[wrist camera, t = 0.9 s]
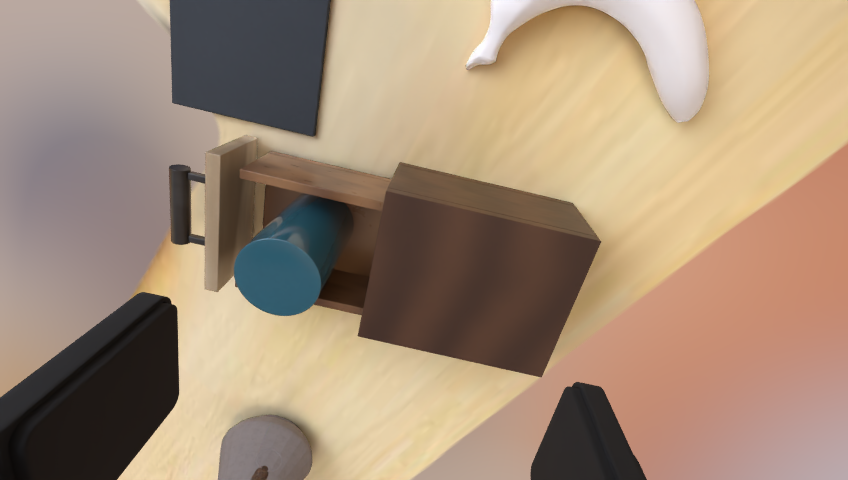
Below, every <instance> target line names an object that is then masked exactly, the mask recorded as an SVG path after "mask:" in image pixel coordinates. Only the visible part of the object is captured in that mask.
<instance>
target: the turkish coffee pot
mask: <svg viewBox="0 0 848 480" xmlns="http://www.w3.org/2000/svg"><path fill="white" fill-rule="evenodd" d="M311 466H312V451H311V447H310V444H309V442H308V440H307V438H306V437H305V436H304V434H303V433H302V431H301V430H300V429H299V428H298V426H296V425H295V424H294V423H293V422H291V421H289V420H287V419H285V418H283V417H279V416H274V415H264V416H258V417H252V418H248V419H245V420H243V421H241V422H239V423H238V424H236V425H235V426H234V427H232V428H231V429H229V431H228V432H227V433H226V435H225V436H224V438H223V440H222V445H221V452H220V462H219V473H218V480H304V478H305V477H306V476H307V475H308V474H309V472H310V469H311Z"/></svg>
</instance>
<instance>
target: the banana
mask: <svg viewBox="0 0 848 480" xmlns="http://www.w3.org/2000/svg"><path fill="white" fill-rule="evenodd" d="M571 5H581V6H588V7H592V8H595V9H598V10H600V11H603V12H605V13H607V14H609V15H610V16H612V17H613V18H615V19H616V20H618V21H619V22H620V23H621V24H623V25H624V26H625V27H626V28H627V29H628V30H629V31H630V32H631V34H632V35H633V36H634V37H635V39H636V40H637V41H638V43H639V45H640V46H641V48H642V50H643V52H644V54H645V57H646V61H647V65H648V69H649V71H650V74H651V77H652V79H653V82H654V85H655V87H656V90H657V92H658V95H659V97H660V99H661V101H662V103H663V105H664V107H665V109H666V110H667V112H668V113H669V115H670V116H671V117H672V118H673V119H674V120H675V121H676V122H683V121H689V120H690V119H691V118H692V117H694V116H695V115H696V114H697V112H698V111H699V110H700V108H701V106H702V104H703V102H704V99H705V96H706V93H707V88H708V82H709V57H708V46H707V38H706V32H705V28H704V23H703V20H702V17H701V14H700V11H699V9H698V6H697V4H696V2H695V0H491V21H490V26H489V29H488V31H487V34H486V36H485V38H484V40H483V41H482V43H481V44H480V45H479V46H478V47H477V48H476V49H475V50H474V51H473V53H472V54H471V56H470V58H469V60H468V62H467V64H466V69H467V70H469V69H471V68H473V67H474V66H477V65H479V64H482V65H490V64H492V63H494V62H496V59H497V54H498V51H499V49H500V47H501V45H502V43H503V42H504V40H505V38H506V37H507V36H508V35H509V34H510V33H511V32H513V31H514V30H515V29H517V28H518V27H520V26H521V25H523V24H524V23H526V22H527V21H529V20H530V19H532V18H534V17H535V16H538V15H540V14H542V13H545V12H547V11H550V10H553V9H556V8H559V7H564V6H571Z"/></svg>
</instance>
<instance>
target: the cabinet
mask: <svg viewBox="0 0 848 480" xmlns="http://www.w3.org/2000/svg"><path fill="white" fill-rule="evenodd" d="M600 243H601V241H600V239H599V238H598V237H597V235H596V234H595V233H594V231H593V230H592V228H591V227H590V226H589V224H588V223H587V222H586V220H585V219H584V218H583V216H582V215H581V213H580V212H579V211H578V209H577V208H576V207H575V206H574V204H573V203H570V202H566V201H561V200H557V199H553V198H549V197H545V196H540V195H536V194H532V193H528V192H523V191H519V190H515V189H511V188H507V187H502V186H498V185H494V184H490V183H485V182H481V181H477V180H473V179H469V178H464V177H460V176H456V175H452V174H447V173H443V172H439V171H435V170H430V169H426V168H422V167H418V166H414V165H409V164H405V163H399V165H398V167H397V169H396V171H395V173H394V176H393V178H392V180H391V182H390V184H389V186H388V188H387V190H386V193H385V199H384V204H383V209H382V214H381V219H380V224H379V229H378V235H377V240H376V245H375V250H374V255H373V260H372V266H371V271H370V276H369V281H368V286H367V291H366V296H365V302H364V307H363V312H362V317H361V322H360V327H359V333H358V336H359V337H363V338H368V339H372V340H377V341H381V342H386V343H390V344H395V345H399V346H404V347H408V348H413V349H417V350H421V351H426V352H430V353H435V354H439V355H444V356H448V357H453V358H457V359H462V360H466V361H471V362H475V363H480V364H484V365H488V366H493V367H497V368H502V369H506V370H511V371H515V372H520V373H524V374H529V375H533V376H538V377H542V375H543V373H544V370H545V368H546V366H547V364H548V361H549V359H550V357H551V355H552V352H553V350H554V348H555V345H556V343H557V341H558V339H559V336H560V334H561V332H562V330H563V327H564V325H565V323H566V320H567V318H568V316H569V314H570V311H571V309H572V307H573V305H574V302H575V300H576V298H577V295H578V293H579V291H580V289H581V286H582V284H583V282H584V279H585V277H586V275H587V273H588V270H589V268H590V266H591V264H592V261H593V259H594V257H595V254H596V252H597V250H598V248H599V245H600Z"/></svg>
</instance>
